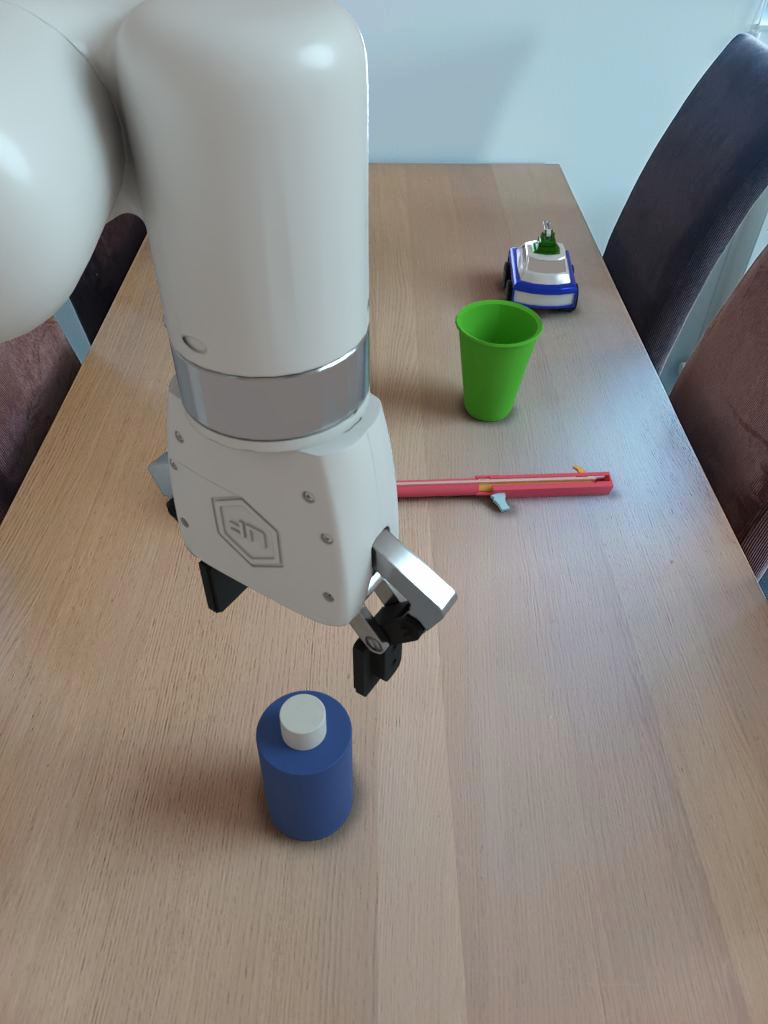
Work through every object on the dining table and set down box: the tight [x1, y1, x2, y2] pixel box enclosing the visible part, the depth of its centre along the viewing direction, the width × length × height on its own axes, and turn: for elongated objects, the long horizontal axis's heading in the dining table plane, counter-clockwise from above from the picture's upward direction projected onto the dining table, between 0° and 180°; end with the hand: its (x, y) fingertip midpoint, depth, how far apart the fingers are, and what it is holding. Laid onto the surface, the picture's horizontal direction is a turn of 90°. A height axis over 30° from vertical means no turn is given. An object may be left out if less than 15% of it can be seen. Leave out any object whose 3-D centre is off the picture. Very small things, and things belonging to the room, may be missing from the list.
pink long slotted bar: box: [396, 465, 615, 513], centre depth 79 cm, size 24×2×5 cm
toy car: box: [502, 220, 580, 312], centre depth 105 cm, size 9×12×10 cm
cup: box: [454, 299, 544, 422], centre depth 86 cm, size 9×9×11 cm
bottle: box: [255, 689, 354, 842], centre depth 53 cm, size 6×6×11 cm
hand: (301, 633), depth 43 cm, fingers open, 9 cm apart
